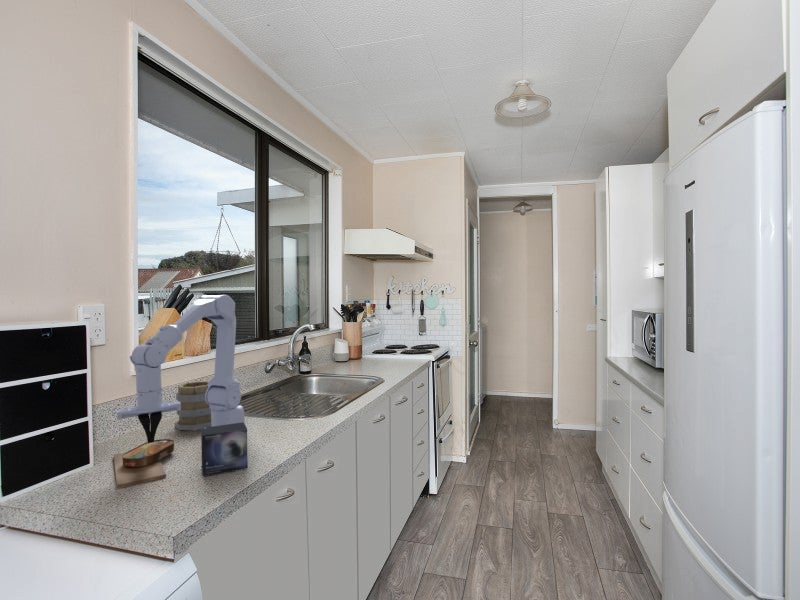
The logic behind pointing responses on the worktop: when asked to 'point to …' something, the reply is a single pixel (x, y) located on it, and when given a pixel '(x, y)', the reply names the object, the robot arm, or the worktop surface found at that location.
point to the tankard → (193, 406)
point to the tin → (148, 453)
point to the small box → (224, 448)
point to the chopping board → (136, 472)
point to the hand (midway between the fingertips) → (150, 441)
